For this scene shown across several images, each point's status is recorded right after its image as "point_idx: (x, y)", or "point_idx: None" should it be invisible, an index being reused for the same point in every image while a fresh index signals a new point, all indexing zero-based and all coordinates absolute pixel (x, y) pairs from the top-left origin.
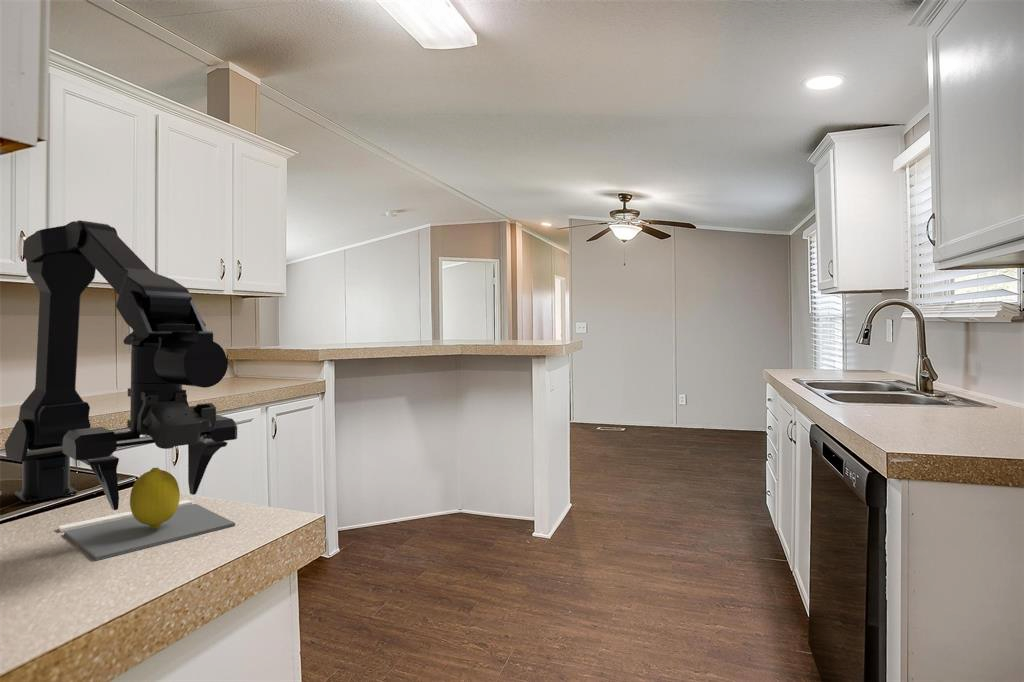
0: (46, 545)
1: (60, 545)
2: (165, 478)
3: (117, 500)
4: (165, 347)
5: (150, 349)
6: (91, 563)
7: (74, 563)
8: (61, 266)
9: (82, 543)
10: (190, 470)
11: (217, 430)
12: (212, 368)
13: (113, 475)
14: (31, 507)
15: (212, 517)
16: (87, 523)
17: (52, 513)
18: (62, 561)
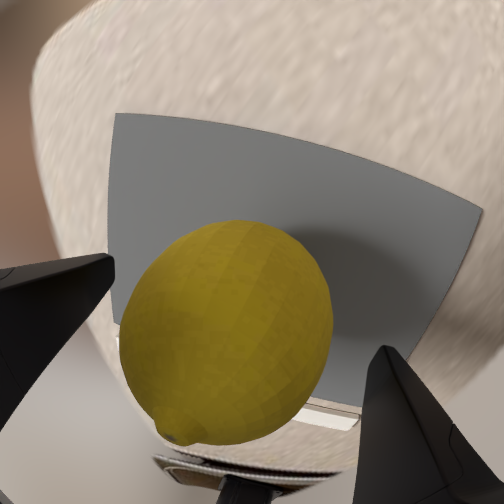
0: (425, 380)
1: (420, 363)
2: (170, 330)
3: (398, 365)
4: None
5: None
6: (489, 201)
7: (497, 239)
8: None
9: (421, 326)
10: (54, 332)
11: None
12: None
13: (457, 466)
14: (288, 482)
15: (124, 204)
16: (315, 411)
17: (292, 463)
18: (493, 275)
